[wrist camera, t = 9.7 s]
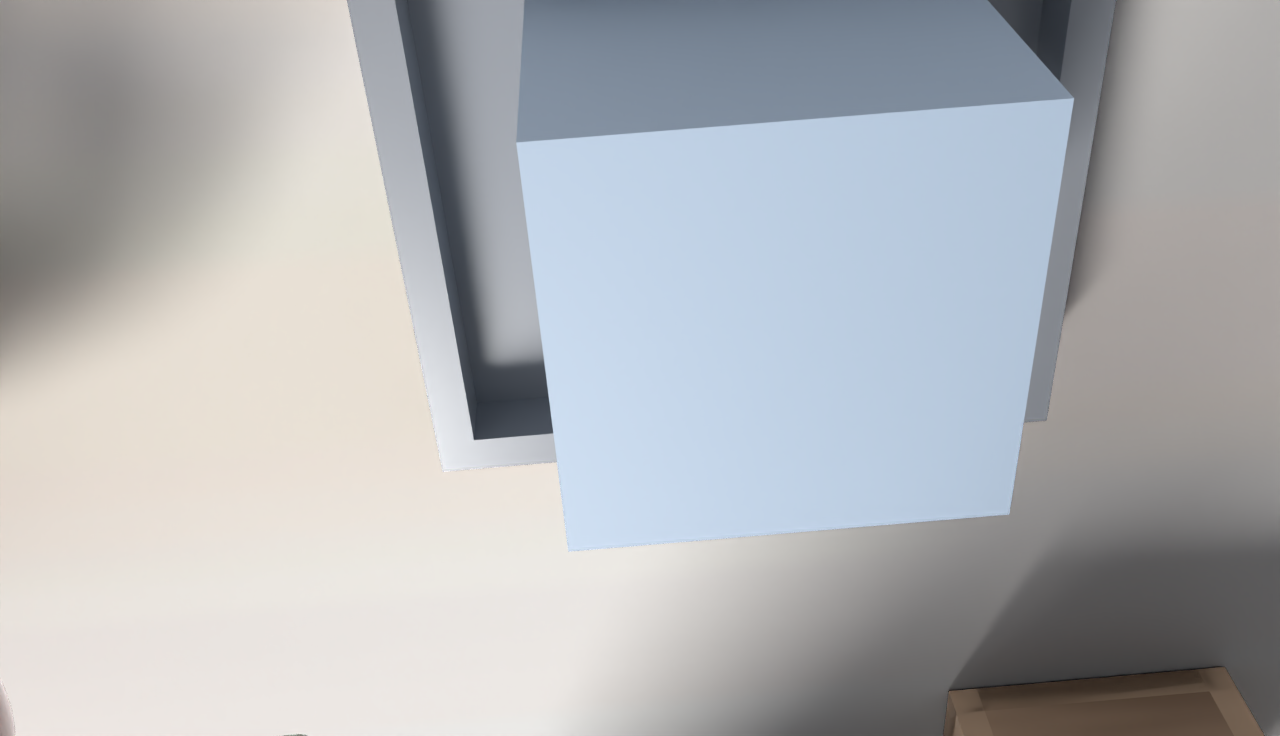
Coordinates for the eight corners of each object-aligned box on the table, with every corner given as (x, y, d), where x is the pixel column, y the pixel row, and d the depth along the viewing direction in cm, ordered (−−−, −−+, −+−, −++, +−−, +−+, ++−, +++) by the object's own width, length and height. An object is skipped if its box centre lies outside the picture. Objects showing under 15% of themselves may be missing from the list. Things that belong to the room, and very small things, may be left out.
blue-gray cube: (909, 284, 20) (1014, 514, 15) (565, 312, 20) (568, 551, 15) (937, -63, 16) (1081, 97, 12) (527, -31, 16) (516, 141, 12)
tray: (1018, 368, 21) (1046, 420, 20) (448, 416, 21) (442, 472, 20) (1109, -269, 16) (1157, -250, 14) (329, -207, 16) (310, -182, 14)
